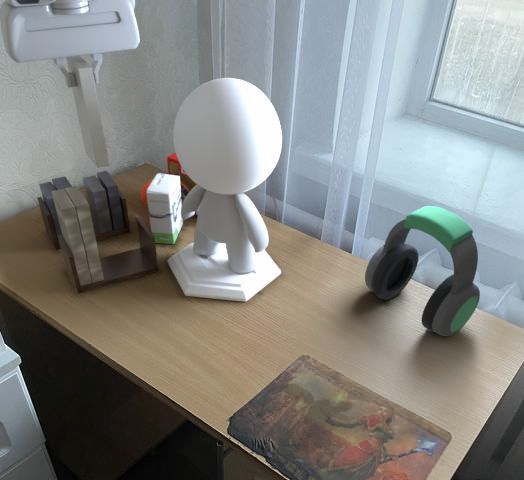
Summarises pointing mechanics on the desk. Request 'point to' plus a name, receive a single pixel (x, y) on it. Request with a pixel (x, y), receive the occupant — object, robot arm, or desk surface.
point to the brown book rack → (85, 246)
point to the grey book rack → (100, 203)
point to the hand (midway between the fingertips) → (82, 84)
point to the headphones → (406, 259)
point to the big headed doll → (225, 188)
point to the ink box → (165, 208)
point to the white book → (88, 111)
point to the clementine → (143, 193)
